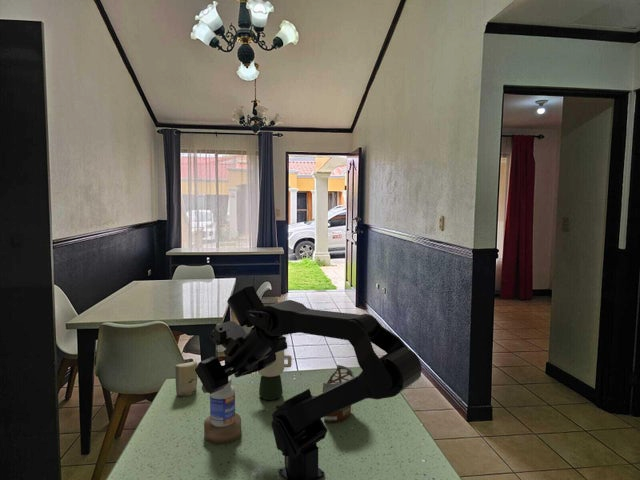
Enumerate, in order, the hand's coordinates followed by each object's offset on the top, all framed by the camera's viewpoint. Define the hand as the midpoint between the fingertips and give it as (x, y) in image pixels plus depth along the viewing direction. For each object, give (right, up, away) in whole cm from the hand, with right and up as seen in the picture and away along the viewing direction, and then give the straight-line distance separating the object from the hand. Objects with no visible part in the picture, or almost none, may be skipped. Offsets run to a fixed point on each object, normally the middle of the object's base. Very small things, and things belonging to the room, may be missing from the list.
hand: (219, 382), depth 92 cm
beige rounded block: (-14, -10, +20) cm, 26 cm away
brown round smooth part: (0, -12, +1) cm, 12 cm away
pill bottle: (+1, -9, 0) cm, 9 cm away
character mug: (+9, -10, +18) cm, 23 cm away
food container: (+27, -11, +9) cm, 31 cm away
